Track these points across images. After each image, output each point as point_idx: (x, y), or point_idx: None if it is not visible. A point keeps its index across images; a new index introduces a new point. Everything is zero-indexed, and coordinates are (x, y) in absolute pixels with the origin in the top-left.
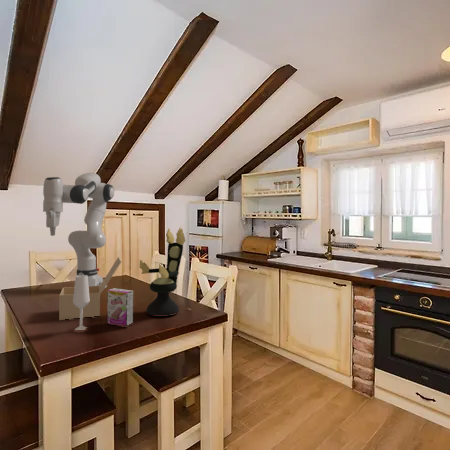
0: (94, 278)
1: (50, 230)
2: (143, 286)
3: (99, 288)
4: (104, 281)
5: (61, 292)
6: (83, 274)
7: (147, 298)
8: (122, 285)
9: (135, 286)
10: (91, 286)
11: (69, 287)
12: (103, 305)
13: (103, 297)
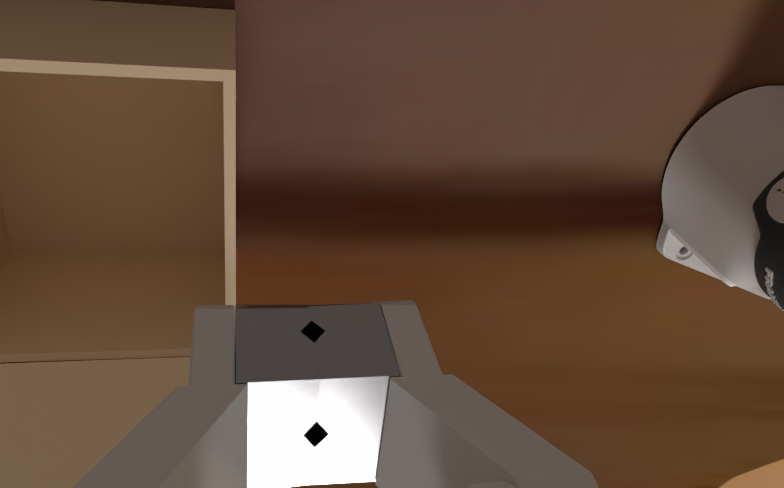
0: (733, 276)
1: (111, 459)
2: (642, 472)
3: (124, 354)
4: (114, 428)
5: (3, 66)
6: (780, 221)
7: (356, 483)
8: (740, 375)
9: (668, 437)
10: (225, 298)
11: (228, 129)
12: (283, 272)
13: (490, 272)
